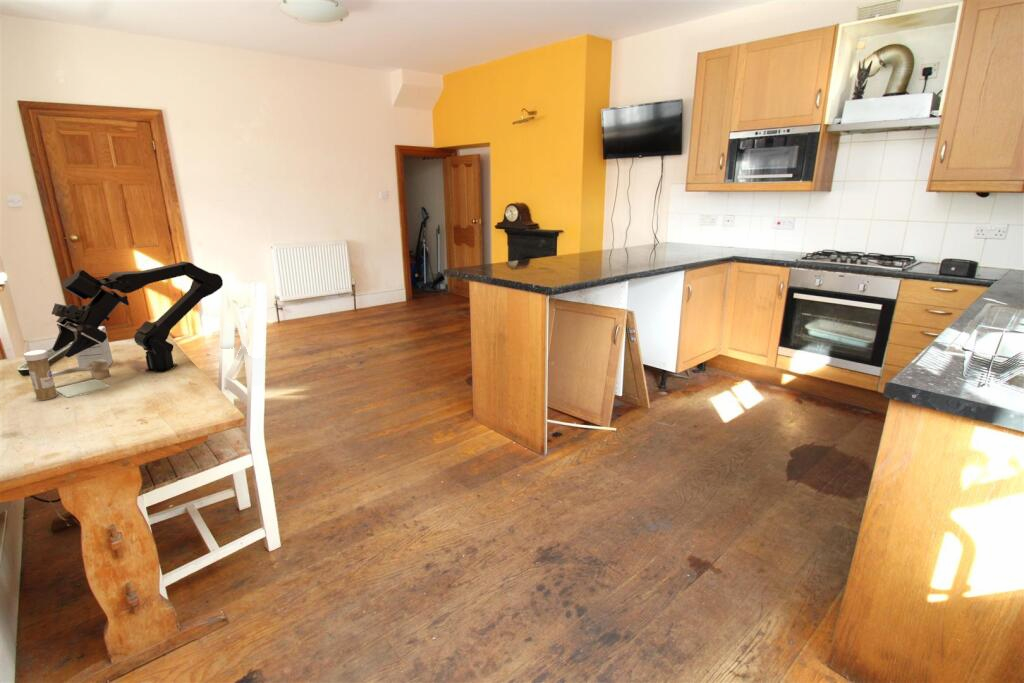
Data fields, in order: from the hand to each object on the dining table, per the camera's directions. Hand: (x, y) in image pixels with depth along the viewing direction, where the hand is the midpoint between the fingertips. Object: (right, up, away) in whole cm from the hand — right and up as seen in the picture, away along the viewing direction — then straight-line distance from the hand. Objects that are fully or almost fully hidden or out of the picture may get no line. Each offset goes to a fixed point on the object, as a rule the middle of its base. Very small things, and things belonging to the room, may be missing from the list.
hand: (60, 353), depth 140 cm
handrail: (-4, -9, +10) cm, 14 cm away
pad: (+1, -10, +6) cm, 12 cm away
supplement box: (-9, -5, +24) cm, 26 cm away
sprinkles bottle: (-3, -12, -1) cm, 13 cm away
